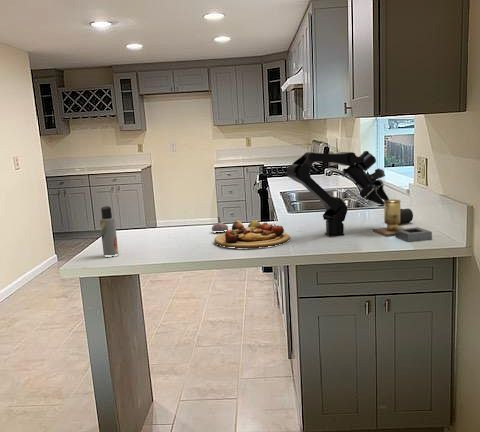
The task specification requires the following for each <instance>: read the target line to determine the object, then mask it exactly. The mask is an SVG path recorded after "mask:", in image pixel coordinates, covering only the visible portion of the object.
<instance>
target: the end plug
mask: <svg viewBox="0 0 480 432" xmlns="http://www.w3.org/2000/svg"><path fill="white" fill-rule="evenodd" d="M383 202H384V203H385V204H384V205H383V207H384V208H383V209H384V210H383V211H384V212H383V213H384V214H383V215H384V216H383V220H384V222H383V223H384V224H386V228H387V231H395V230H397V229H398V226H399V225H400V224H399V223H400V209H401V202H402V201H401V200H400V199H389V200H383Z"/></svg>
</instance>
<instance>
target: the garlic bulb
mask: <svg viewBox="0 0 480 432" xmlns="http://www.w3.org/2000/svg"><path fill="white" fill-rule="evenodd" d="M224 230H229V227H228V225H227V224H225V223H223V222H222V220H221V218H220V215H218V216H217V223H215V224H213V225H212V226H211V231H212V232H213V231H224Z"/></svg>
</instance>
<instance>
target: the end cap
mask: <svg viewBox="0 0 480 432" xmlns="http://www.w3.org/2000/svg"><path fill="white" fill-rule="evenodd" d="M413 219H414V213H413V210H412V209H411V208H400V223H399V224H398V225H405V224H410V223H411V222H412V221H413Z"/></svg>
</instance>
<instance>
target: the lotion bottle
mask: <svg viewBox="0 0 480 432" xmlns="http://www.w3.org/2000/svg"><path fill="white" fill-rule="evenodd" d="M100 211H101V218H100V219H99V224H100V225H99V226H100V232H101V233H100V234H101V242H102V250H103V251H102V252H103V256H104V255H115V254H118V255H119V247H118V238H117V229H116V220H115V217H113V215H112V207H111V206H109V205H107V206H103V207H101V208H100Z"/></svg>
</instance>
